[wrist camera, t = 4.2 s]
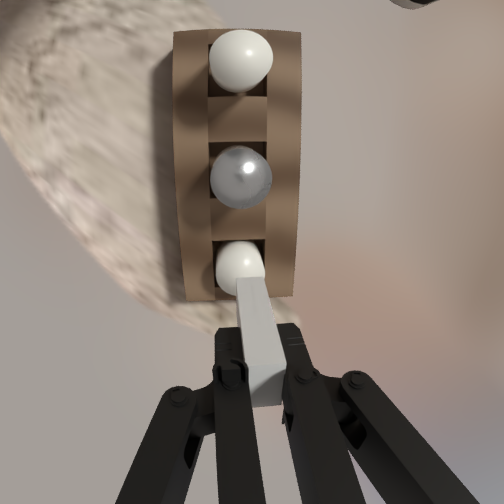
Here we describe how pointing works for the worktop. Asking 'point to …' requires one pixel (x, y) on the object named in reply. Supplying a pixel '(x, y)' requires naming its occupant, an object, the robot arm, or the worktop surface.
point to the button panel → (229, 134)
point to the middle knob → (240, 177)
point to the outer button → (237, 263)
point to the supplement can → (412, 3)
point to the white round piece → (240, 60)
